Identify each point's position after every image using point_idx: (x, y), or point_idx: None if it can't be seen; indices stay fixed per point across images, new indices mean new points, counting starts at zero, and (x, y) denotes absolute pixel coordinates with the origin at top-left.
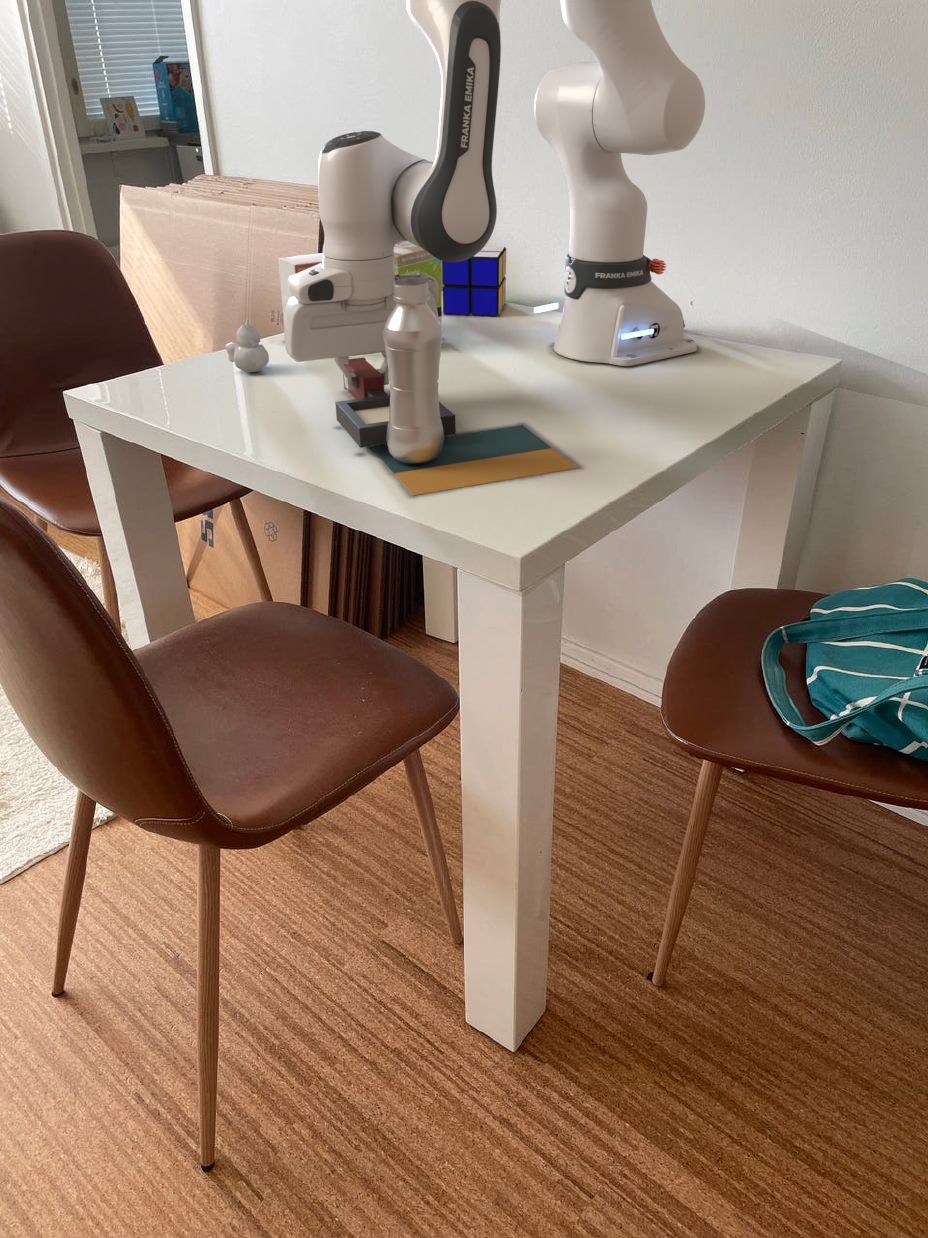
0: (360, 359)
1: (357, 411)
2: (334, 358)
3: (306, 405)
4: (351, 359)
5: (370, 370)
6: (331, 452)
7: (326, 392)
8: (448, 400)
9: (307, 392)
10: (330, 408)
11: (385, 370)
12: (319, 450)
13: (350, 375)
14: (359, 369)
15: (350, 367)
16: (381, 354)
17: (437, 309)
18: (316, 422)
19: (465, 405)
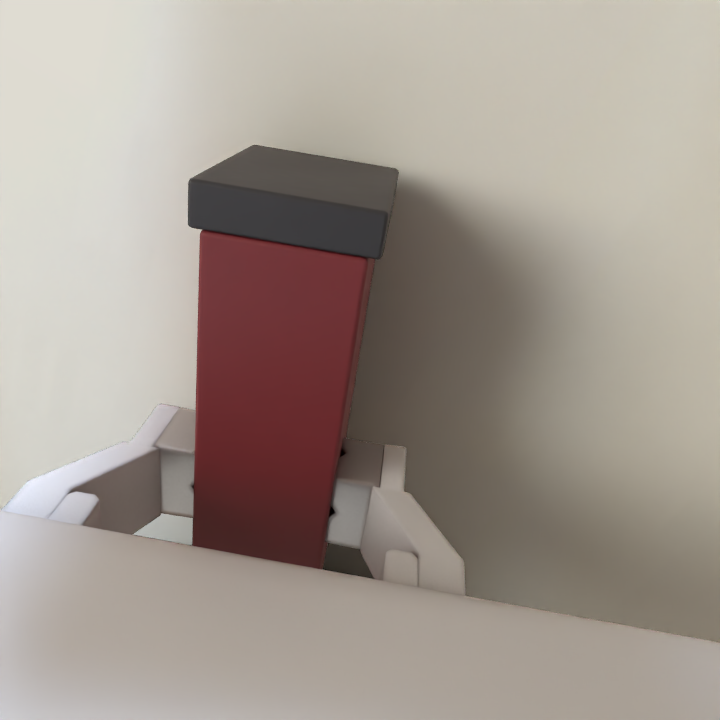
0: (332, 258)
1: None
2: (14, 500)
3: (8, 237)
4: (263, 219)
5: (284, 523)
6: None
7: (155, 76)
8: (660, 525)
9: (38, 4)
10: (118, 340)
11: (368, 563)
12: None
13: (147, 519)
14: (227, 475)
15: (196, 382)
16: (386, 552)
17: None
18: (29, 453)
19: (671, 599)
